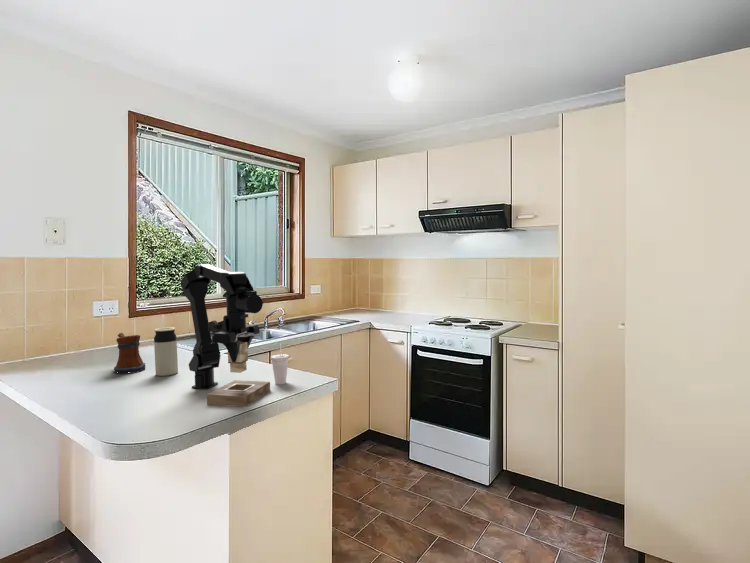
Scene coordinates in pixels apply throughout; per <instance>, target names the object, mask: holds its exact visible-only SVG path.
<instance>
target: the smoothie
mask: <svg viewBox="0 0 750 563" xmlns="http://www.w3.org/2000/svg"><path fill="white" fill-rule="evenodd" d="M289 359H290V355H289V354H285V353H284V354H282V343H279V354H273V355H271V356H270V360H271V364H272V371H273V376H274V383H275V385H285V384H286V383H287V375H288V364H289Z"/></svg>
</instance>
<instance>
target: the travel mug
mask: <svg viewBox="0 0 750 563" xmlns="http://www.w3.org/2000/svg"><path fill="white" fill-rule="evenodd" d="M175 330H176V327H174V326H168V327H167V326H166V327H158V328H157V327H156V328H155V329H154V333H155V334H154V337H153V344H154V345H153V347H154V366H155V367H154V368H155V375H156V376H158V377H168V376H172V375H176V374H177V373H179V365H178V364H179V363H178V362H179V361H178V341H177V340H178V339H177V335H176V333H175Z"/></svg>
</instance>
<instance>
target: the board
mask: <svg viewBox="0 0 750 563" xmlns="http://www.w3.org/2000/svg"><path fill="white" fill-rule="evenodd" d="M270 391H271V381H265V380H264V381H263V380H244V379H243V380H241V379H239V380H237V379H235V380H232V381H230V382H229V383H227V384H225V385H223V386H220V387H218V388H217V389H215V390H213V391H211V392H209V393H207V394H206V404H207V405H216V406H218V405H219V406H231V407H233V406H234V407H248V406H249V405H251V404H252V403H253V402H254V401H256V400H258V399H259V398H261V397H262V396H264V395H266V394H267V393H269V392H270ZM251 402H252V403H251ZM248 404H249V405H248Z"/></svg>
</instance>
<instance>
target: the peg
mask: <svg viewBox="0 0 750 563" xmlns="http://www.w3.org/2000/svg"><path fill="white" fill-rule="evenodd" d="M248 349H249V347H247V342H240V346H239V351H238V355H237V359H236V362H232V360H231V358H230V355H229V353H228V352H227V363H228V364H229V367H230V373H239V374H241V373H242V372H246V371H247V362H248V361H249V351H248Z"/></svg>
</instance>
